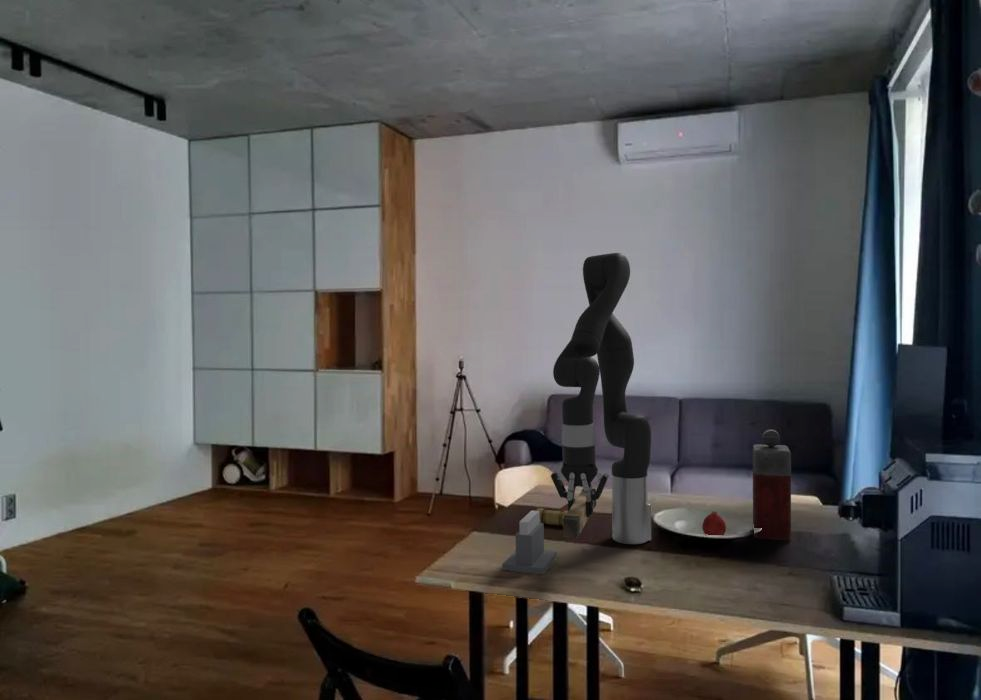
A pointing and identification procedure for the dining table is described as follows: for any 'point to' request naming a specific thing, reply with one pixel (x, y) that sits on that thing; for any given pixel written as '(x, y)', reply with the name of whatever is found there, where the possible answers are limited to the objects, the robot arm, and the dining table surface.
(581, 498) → the oak beam
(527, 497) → the dining table surface
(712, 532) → the onion
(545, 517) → the gavel
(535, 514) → the stand
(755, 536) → the red liquor decanter
